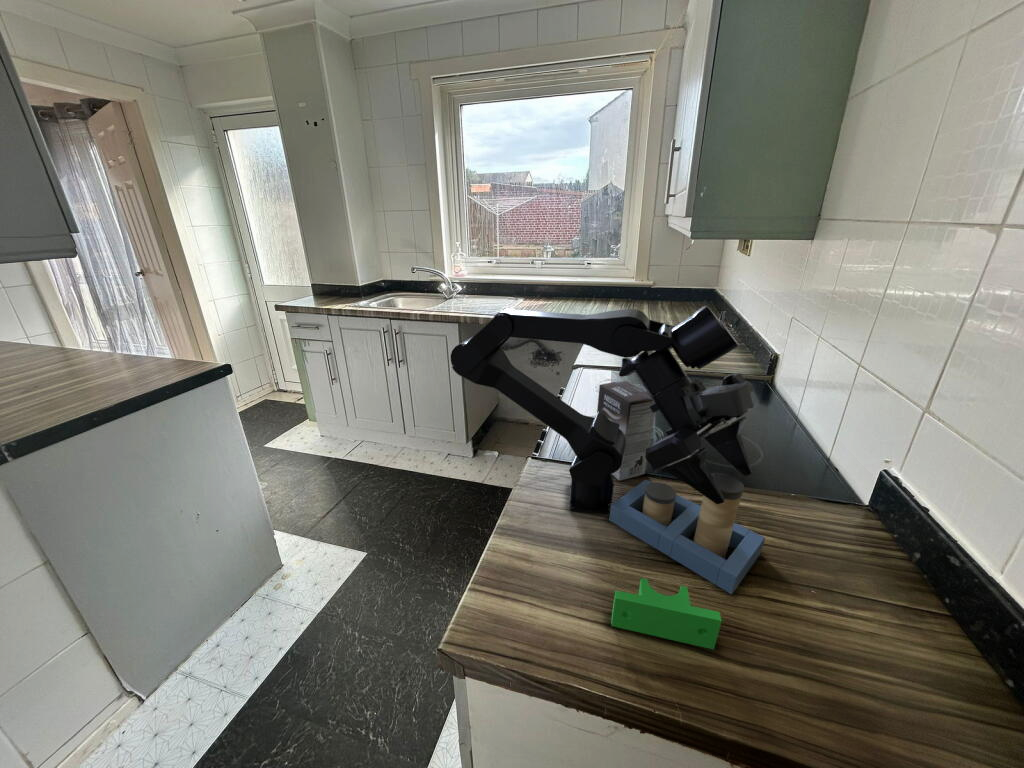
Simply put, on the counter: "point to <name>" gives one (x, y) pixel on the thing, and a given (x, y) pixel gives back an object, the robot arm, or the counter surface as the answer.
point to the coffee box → (629, 423)
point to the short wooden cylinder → (659, 502)
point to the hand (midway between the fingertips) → (735, 488)
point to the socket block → (678, 544)
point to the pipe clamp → (666, 616)
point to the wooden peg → (719, 516)
